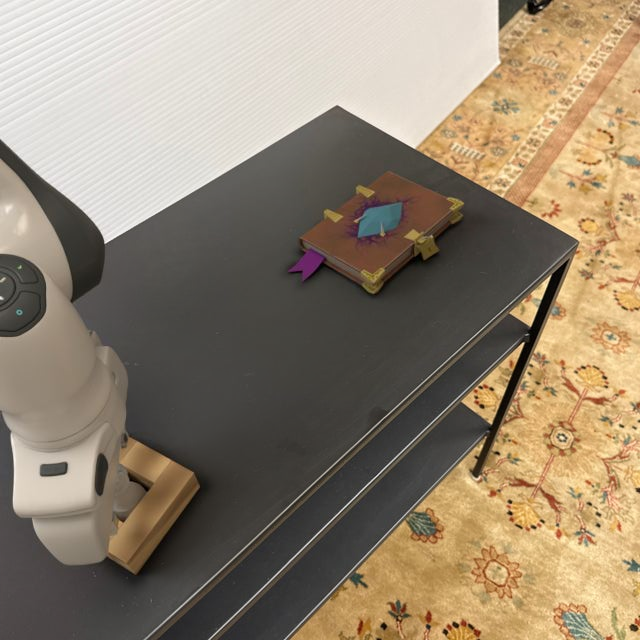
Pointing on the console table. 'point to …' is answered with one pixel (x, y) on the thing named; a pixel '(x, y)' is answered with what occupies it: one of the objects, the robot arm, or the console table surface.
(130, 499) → the rook chess piece
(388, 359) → the console table surface
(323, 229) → the book
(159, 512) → the square wooden frame
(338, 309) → the console table surface
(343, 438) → the console table surface
